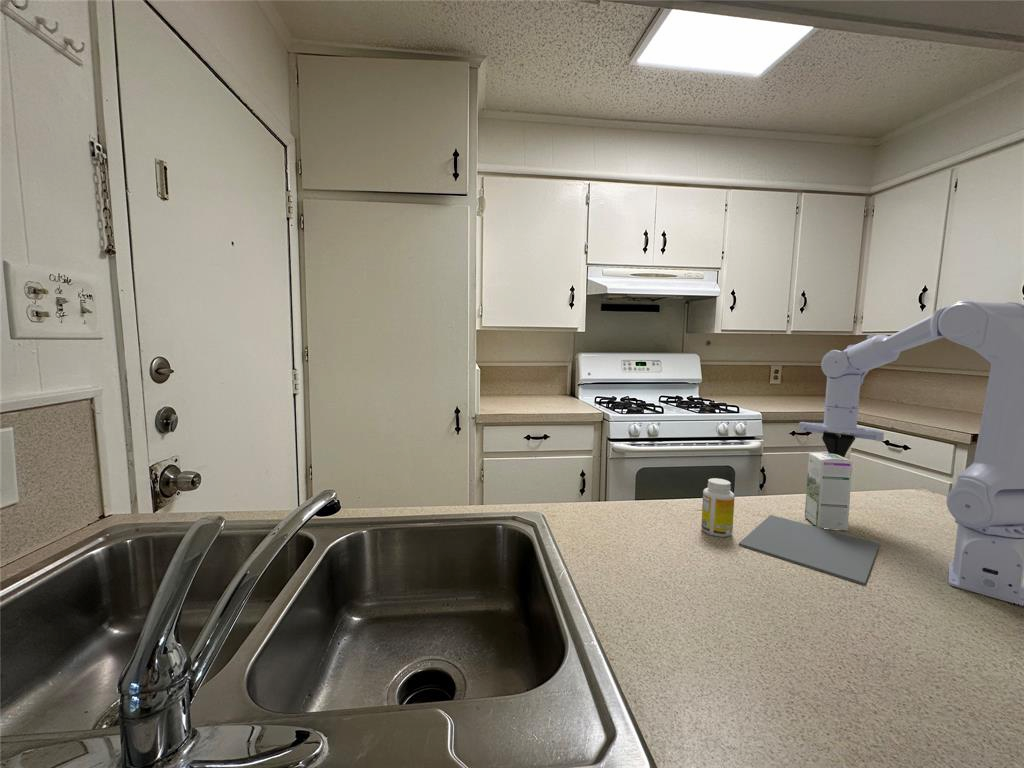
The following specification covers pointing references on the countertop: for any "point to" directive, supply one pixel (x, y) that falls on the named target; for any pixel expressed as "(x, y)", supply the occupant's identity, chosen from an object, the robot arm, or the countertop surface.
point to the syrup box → (828, 490)
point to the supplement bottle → (718, 508)
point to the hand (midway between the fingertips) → (836, 468)
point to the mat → (814, 548)
